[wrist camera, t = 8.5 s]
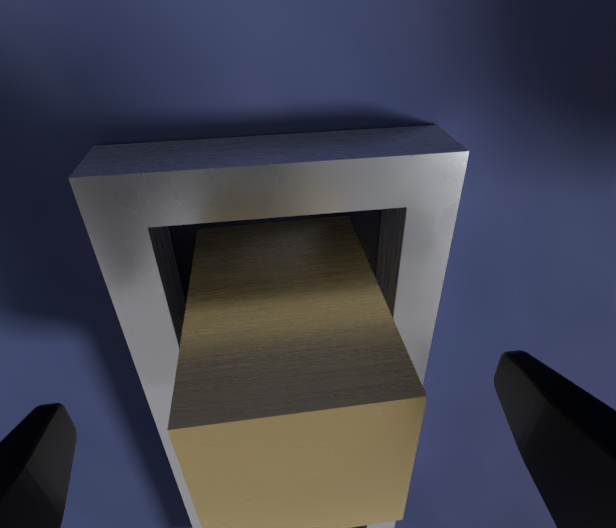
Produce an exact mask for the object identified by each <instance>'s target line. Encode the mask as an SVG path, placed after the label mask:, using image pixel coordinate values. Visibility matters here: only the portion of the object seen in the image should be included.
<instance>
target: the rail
mask: <svg viewBox="0 0 616 528" xmlns="http://www.w3.org/2000/svg"><path fill="white" fill-rule="evenodd" d="M468 155H469V150H467V149H466V148H465V147H464V146H462V145H461V144H460V143H459V142H458V141H456V140H455V139H454V138H453V137H452V136H450V135H449V134H448V133H447V132H445V131H444V130H443V129H442V128H441V127H439V126H438V125H426V126H409V127H393V128H376V129H360V130H343V131H326V132H310V133H293V134H277V135H260V136H244V137H227V138H211V139H194V140H178V141H161V142H145V143H128V144H112V145H95V146H93V147H92V148H91V150H90V151H89V152H88V154H87V155H86V156H85V157H84V159H83V160H82V161H81V162H80V164H79V165H78V166H77V168H76V169H75V170H74V171H73V173H72V174H71V175H70V176H69V178H68V179H69V182H70V184H71V187H72V190H73V193H74V196H75V198H76V201H77V204H78V207H79V210H80V212H81V215H82V218H83V221H84V224H85V227H86V229H87V232H88V235H89V238H90V241H91V243H92V246H93V249H94V252H95V255H96V257H97V260H98V263H99V266H100V269H101V271H102V274H103V277H104V280H105V283H106V286H107V288H108V291H109V294H110V297H111V300H112V302H113V305H114V308H115V311H116V314H117V316H118V319H119V322H120V325H121V328H122V330H123V333H124V336H125V339H126V342H127V345H128V347H129V350H130V353H131V356H132V359H133V361H134V364H135V367H136V370H137V373H138V375H139V378H140V381H141V384H142V387H143V389H144V392H145V395H146V398H147V401H148V404H149V406H150V409H151V412H152V415H153V418H154V420H155V423H156V426H157V429H158V432H159V434H160V437H161V440H162V443H163V446H164V448H165V451H166V454H167V457H168V460H169V463H170V465H171V468H172V471H173V474H174V477H175V479H176V482H177V485H178V488H179V491H180V493H181V496H182V499H183V502H184V505H185V507H186V510H187V513H188V516H189V519H190V522H191V524H192V527H193V528H202V527H201V524H200V521H199V519H198V516H197V513H196V510H195V507H194V504H193V502H192V499H191V496H190V493H189V490H188V487H187V485H186V482H185V479H184V476H183V473H182V470H181V468H180V465H179V462H178V459H177V456H176V453H175V451H174V448H173V445H172V442H171V439H170V436H169V434H168V431H167V429H168V422H169V416H170V409H171V402H172V396H173V389H174V382H175V376H176V369H177V362H178V355H179V349H180V342H181V335H182V329H183V322H184V315H185V309H186V301H185V297H184V293H183V288H182V284H181V280H180V275H179V271H178V267H177V262H176V258H175V254H174V249H173V245H172V241H171V237H170V232H169V228H168V226H174V225H187V224H199V223H212V222H225V221H237V220H250V219H263V218H275V217H288V216H301V215H314V214H326V213H339V212H352V211H364V210H377V209H382V213H381V224H380V235H379V247H378V258H377V269H376V280H377V283H378V285H379V287H380V289H381V292H382V294H383V296H384V299H385V301H386V303H387V306H388V308H389V310H390V312H391V315H392V317H393V319H394V322H395V324H396V326H397V329H398V331H399V333H400V335H401V338H402V340H403V342H404V345H405V347H406V349H407V351H408V354H409V356H410V358H411V361H412V363H413V365H414V368H415V370H416V372H417V374H418V377H419V379H420V381H421V384H422V386H423V381H424V376H425V371H426V366H427V361H428V356H429V351H430V346H431V341H432V336H433V331H434V326H435V321H436V316H437V311H438V306H439V301H440V296H441V291H442V286H443V281H444V276H445V271H446V266H447V261H448V256H449V251H450V246H451V241H452V236H453V231H454V226H455V221H456V216H457V211H458V206H459V201H460V195H461V190H462V185H463V180H464V175H465V170H466V165H467V160H468ZM394 526H395V521H390V522H384V523H377V524H371V525H365V526H358V527H352V528H394Z"/></svg>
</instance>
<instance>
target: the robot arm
mask: <svg viewBox="0 0 616 528" xmlns="http://www.w3.org/2000/svg"><path fill="white" fill-rule="evenodd" d="M494 386H495V390H496V392H497V395H498V398H499V400H500V403H501V405H502V408H503V411H504V413H505V416H506V418H507V421H508V424H509V426H510V429H511V431H512V434H513V437H514V439H515V442H516V444H517V447H518V449H519V452H520V454H521V456H522V458H523V461H524V463H525V465H526V467H527V469H528V471H529V473H530V475H531V477H532V479H533V481H534V483H535V485H536V487H537V489H538V491H539V492H540V494H541V496H542V498H543V500H544V502H545V504H546V506H547V508H548V510H549V512H550V514H551V516H552V518H553V520H554V522H555V524H556V526H557V528H616V411H615V410H614V409H612V408H611V407H609V406H608V405H606V404H605V403H603V402H602V401H600V400H599V399H597V398H596V397H594V396H593V395H591V394H589V393H588V392H586V391H585V390H583V389H582V388H580V387H579V386H577V385H576V384H574V383H573V382H571V381H570V380H568V379H567V378H565V377H563V376H562V375H560V374H559V373H557V372H556V371H554V370H553V369H551V368H550V367H548V366H547V365H545V364H544V363H542V362H541V361H539V360H537V359H536V358H534V357H533V356H531V355H530V354H528V353H527V352H525V351H521V350H517V351H509V352H504V353H503V354H502V355H501V358H500V361H499V364H498V367H497V370H496V373H495V376H494ZM75 445H76V428H75V426H74V424H73V422H72V420H71V418H70V416H69V415H68V413H67V411H66V409H65V407H64V406H63V405H62V404H60V403H52V404H44V405H39V406H37V407H36V408H34V409H33V410H32V411H31V412H30V413H29V414H28V415H27V416H26V417H25V418H24V419H23V420H22V421H21V422H20V423H19V424H18V425H17V426H16V427H15V428H14V429H13V430H12V431H11V432H10V433H9V434H8V435H7V436H6V437H5V438H4V439H3V440H2V441H1V442H0V528H60V527H61V523H62V519H63V514H64V509H65V504H66V498H67V492H68V486H69V480H70V474H71V468H72V462H73V456H74V450H75Z"/></svg>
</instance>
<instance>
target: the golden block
mask: <svg viewBox="0 0 616 528" xmlns="http://www.w3.org/2000/svg"><path fill="white" fill-rule="evenodd" d="M426 399H427V395H426V393H425V391H424V388H423V386H422V384H421V381H420V379H419V377H418V374H417V372H416V370H415V368H414V365H413V363H412V361H411V358H410V356H409V354H408V351H407V349H406V347H405V345H404V342H403V340H402V338H401V335H400V333H399V331H398V329H397V326H396V324H395V322H394V319H393V317H392V315H391V312H390V310H389V308H388V306H387V303H386V301H385V299H384V296H383V294H382V292H381V289H380V287H379V285H378V283H377V280H376V278H375V276H374V273H373V271H372V269H371V267H370V264H369V262H368V260H367V257H366V255H365V253H364V250H363V248H362V246H361V244H360V241H359V239H358V237H357V234H356V232H355V230H354V227H353V225H352V223H351V221H350V218H349V216H339V217H328V218H317V219H306V220H294V221H283V222H272V223H260V224H249V225H238V226H226V227H215V228H204V229H197V235H196V242H195V248H194V255H193V262H192V269H191V275H190V282H189V289H188V295H187V302H186V309H185V315H184V322H183V329H182V335H181V342H180V349H179V355H178V362H177V369H176V376H175V382H174V389H173V396H172V402H171V409H170V416H169V422H168V429H167V431H168V434H169V436H170V439H171V442H172V445H173V448H174V451H175V453H176V456H177V459H178V462H179V465H180V468H181V470H182V473H183V476H184V479H185V482H186V485H187V487H188V490H189V493H190V496H191V499H192V502H193V504H194V507H195V510H196V513H197V516H198V519H199V521H200V524H201V527H202V528H352V527H358V526H365V525H371V524H377V523H384V522H390V521H397V520H403V515H404V510H405V505H406V500H407V495H408V490H409V485H410V480H411V475H412V470H413V464H414V459H415V454H416V449H417V444H418V439H419V434H420V429H421V424H422V419H423V414H424V409H425V404H426Z"/></svg>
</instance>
